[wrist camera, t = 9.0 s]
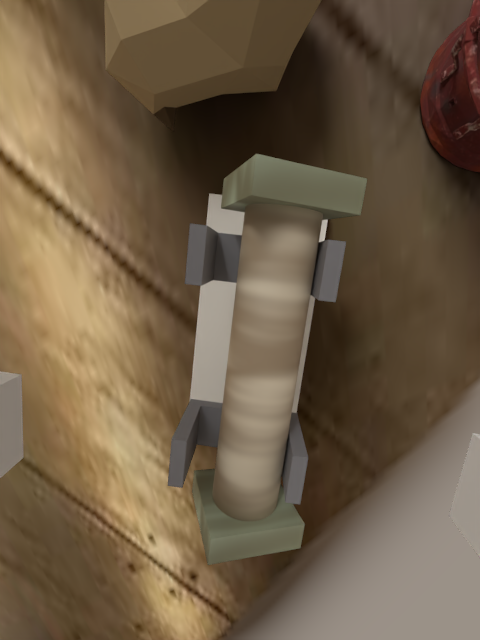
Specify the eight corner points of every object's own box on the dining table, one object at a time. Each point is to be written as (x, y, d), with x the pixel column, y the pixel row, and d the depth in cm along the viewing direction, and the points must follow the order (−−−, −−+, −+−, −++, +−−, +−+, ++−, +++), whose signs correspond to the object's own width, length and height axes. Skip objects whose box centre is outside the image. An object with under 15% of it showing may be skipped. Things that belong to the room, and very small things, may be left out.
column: (223, 178, 18) (256, 153, 13) (309, 195, 20) (367, 178, 15) (192, 491, 22) (207, 565, 17) (266, 483, 24) (300, 548, 19)
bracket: (211, 196, 25) (176, 149, 14) (326, 209, 25) (379, 171, 14) (189, 429, 29) (147, 531, 18) (289, 443, 29) (307, 555, 18)
